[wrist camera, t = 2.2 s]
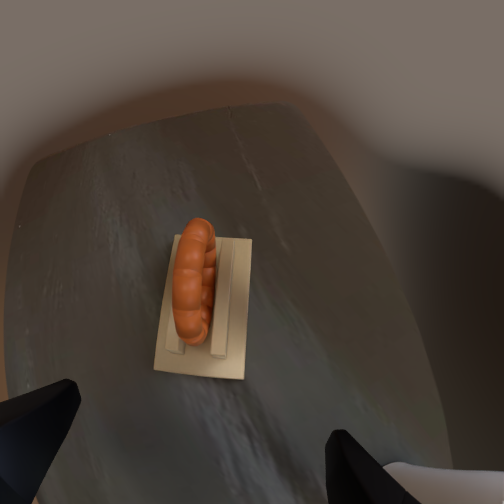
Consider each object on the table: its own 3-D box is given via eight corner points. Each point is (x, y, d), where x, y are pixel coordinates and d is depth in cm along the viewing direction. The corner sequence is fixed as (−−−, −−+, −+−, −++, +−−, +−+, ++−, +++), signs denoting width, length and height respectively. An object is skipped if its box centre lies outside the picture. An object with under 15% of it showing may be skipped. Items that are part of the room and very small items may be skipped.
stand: (243, 380, 20) (244, 378, 17) (156, 370, 20) (142, 366, 17) (251, 244, 26) (253, 223, 22) (176, 239, 25) (169, 218, 22)
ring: (209, 353, 20) (192, 332, 13) (188, 351, 20) (159, 328, 13) (219, 255, 24) (212, 193, 16) (201, 254, 24) (186, 191, 16)
